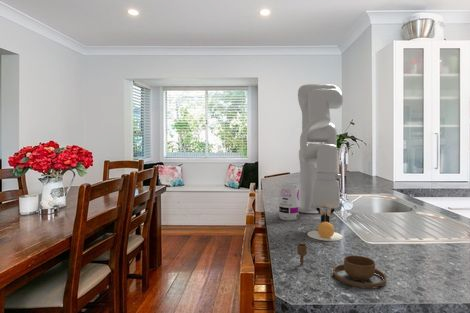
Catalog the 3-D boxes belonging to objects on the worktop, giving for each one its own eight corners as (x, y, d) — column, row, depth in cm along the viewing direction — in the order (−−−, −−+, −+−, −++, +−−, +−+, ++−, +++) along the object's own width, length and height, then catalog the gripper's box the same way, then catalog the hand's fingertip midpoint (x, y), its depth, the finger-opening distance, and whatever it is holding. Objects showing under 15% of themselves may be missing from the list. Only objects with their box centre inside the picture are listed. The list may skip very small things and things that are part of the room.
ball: (317, 241, 109) (317, 230, 114) (334, 242, 108) (333, 231, 112) (317, 228, 106) (317, 218, 111) (334, 229, 105) (334, 218, 110)
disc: (308, 229, 120) (308, 229, 120) (342, 232, 116) (342, 232, 116) (306, 238, 108) (306, 238, 108) (344, 242, 105) (344, 241, 105)
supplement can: (297, 216, 141) (297, 183, 140) (299, 221, 133) (299, 185, 132) (278, 216, 142) (279, 182, 141) (279, 220, 134) (280, 184, 133)
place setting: (351, 299, 67) (352, 271, 67) (292, 266, 85) (292, 244, 85) (404, 283, 76) (405, 258, 75) (340, 256, 93) (340, 236, 93)
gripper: (346, 176, 122) (345, 224, 122) (306, 175, 126) (305, 221, 126) (347, 178, 114) (346, 229, 115) (305, 177, 118) (304, 226, 119)
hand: (324, 225), depth 121 cm, fingers closed
